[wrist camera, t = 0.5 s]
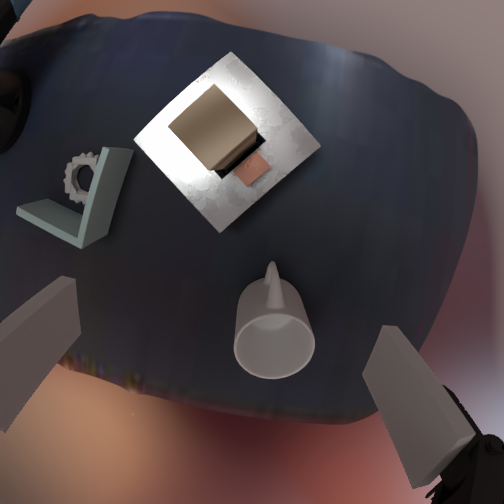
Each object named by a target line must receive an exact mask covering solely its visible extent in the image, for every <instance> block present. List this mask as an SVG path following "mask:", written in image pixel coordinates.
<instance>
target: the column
mask: <svg viewBox="0 0 504 504" xmlns="http://www.w3.org/2000/svg"><path fill="white" fill-rule="evenodd" d="M167 127H168V128H169V129H170V130H171V131H172V132H173V134H174V135H175V136H176V137H177V138H178V139H179V140H180V141H181V142H182V143H183V144H184V145H185V146H186V147H187V148H188V149H189V151H190V152H191V153H192V154H193V155H194V156H195V157H196V158H197V159H198V160H199V161H200V162H201V163H202V165H203V166H204V167H205V168H206V169H207V170H208V171H213V170H221V169H224V170H227V169H228V168H229V167H230V166H231V165H232V164H234V163H235V162H236V161H237V160H238V159H239V158H240V157H242V156H243V155H244V154H245V153H246V152H247V151H248V150H250V149H251V148H252V147H253V146H254V145H255V144H257V142H256V136H257V129H258V128H257V127H256V126H255V125H254V123H253V122H252V121H251V120H250V119H249V118H248V117H247V116H246V115H245V114H244V113H243V112H242V111H241V110H240V109H239V108H238V107H237V106H236V105H235V104H234V103H233V102H232V101H231V100H230V98H229V97H228V96H227V95H226V94H225V93H224V92H223V91H222V90H221V89H220V88H219V87H217V86H216V85H215V84H213V85H212V86H211V87H210V88H208V89H207V90H206V91H205V92H204V93H203V94H201V95H200V96H199V97H198V98H197V99H196V100H195V101H193V102H192V103H191V104H190V105H189V106H188V107H187V108H186V109H185V110H183V111H182V112H181V113H180V114H179V115H178V116H177V117H176V118H175V119H174V120H173V121H172V122H171V123H170V124H169V125H168V126H167Z"/></svg>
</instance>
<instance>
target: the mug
mask: <svg viewBox="0 0 504 504" xmlns="http://www.w3.org/2000/svg"><path fill="white" fill-rule="evenodd" d="M314 349H315V339H314V335H313V332H312V329H311V326H310V323H309V320H308V317H307V314H306V311H305V309H304V306H303V303H302V300H301V297H300V295H299V293H298V291H297V290H296V289H295V288H294V286H292V285H291V284H290V283H289V282H287V281H285V280H283V279H280V278H279V274H278V271H277V267H276V265H275V262H274V261H271V262H270V263H269V265H268V268H267V272H266V275H265V278H261V279H258V280H256V281H254V282H252V283H251V284H249V285H248V286H247V287H246V288H245V289H244V291H243V292H242V294H241V296H240V298H239V302H238V308H237V318H236V328H235V338H234V354H235V357H236V359H237V361H238V363H239V364H240V365H241V366H242V368H244V369H245V370H246V371H247V372H249V373H250V374H252V375H255V376H257V377H261V378H266V379H278V378H284V377H287V376H290V375H293V374H295V373H296V372H298V371H300V370H301V369H302V368H303V367H305V365H306V364H307V363H308V362H309V361H310V359H311V357H312V355H313V353H314Z"/></svg>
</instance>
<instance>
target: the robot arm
mask: <svg viewBox="0 0 504 504" xmlns="http://www.w3.org/2000/svg"><path fill="white" fill-rule="evenodd" d="M31 1H32V0H0V45H1V43H2V42H3V40H4V39H5V37H6V36H7V34H8V33H9V31H10V30H11V29H12V27H13V26H14V24H15V23H16V22H18V21H19V19H20V16H21V15H22V13H23V12H24V11H25V9H26V8H27V7H28V5H29V4H30V3H31ZM30 97H31V91H30V83H29V80H28V78H27V76H26V74H25V73H24V72H22V71H21V70H17V69H14V68H3V69H0V154H2V153H4V152H5V151H7V150H8V149H9V148H10V147H11V146H12V145H13V144H14V142H15V141H16V140H17V138H18V136H19V135H20V133H21V131H22V129H23V126H24V124H25V121H26V118H27V115H28V111H29V106H30ZM80 334H81V328H80V321H79V312H78V303H77V292H76V279H74V278H70V277H65V276H60V277H59V278H58V279H56V280H55V281H53V282H52V283H51V284H49V285H48V286H47V287H45V288H44V289H43V290H41V291H40V292H39V293H37V294H36V295H35V296H33V297H32V298H31V299H30V300H28V301H27V302H26V303H24V304H23V305H22V306H21V307H19V308H18V309H17V310H16V311H14V312H13V313H12V314H11V315H9V316H8V317H7V318H6V319H4V320H3V321H0V430H1V431H3V432H4V433H6V431H7V430H8V428H9V426H10V425H11V424H12V422H13V421H14V419H15V418H16V417H17V415H18V414H19V412H20V411H21V410H22V408H23V407H24V405H25V404H26V403H27V401H28V400H29V398H30V397H31V396H32V394H33V393H34V392H35V390H36V389H37V388H38V387H39V385H40V384H41V382H42V381H43V380H44V379H45V377H46V376H47V375H48V374H49V372H50V371H51V370H52V368H53V367H54V366H55V365H56V363H57V362H58V361H59V360H60V358H61V357H62V356H63V355H64V353H65V352H66V351H67V350H68V349H69V347H70V346H71V345H72V344H73V343H74V341H75V340H76V339H77V338H78V337H79V335H80ZM362 376H363V378H364V380H365V382H366V384H367V386H368V389H369V391H370V393H371V395H372V397H373V399H374V401H375V404H376V406H377V408H378V410H379V412H380V414H381V417H382V419H383V421H384V423H385V425H386V428H387V430H388V432H389V434H390V437H391V439H392V441H393V443H394V446H395V448H396V450H397V452H398V455H399V457H400V460H401V462H402V464H403V467H404V469H405V472H406V474H407V476H408V479H409V481H410V484H411V486H412V488H413V489H415V488H418V487H422V486H425V485H428V484H430V483H431V482H432V481H433V480H434V479H435V478H436V477H437V476H438V475H439V474H440V476H441V479H442V481H441V482H439V483H438V484H437V485H436V486H435V487H434V488H433V489H432V490H431V491H430V492H429V493H428V494H427V495H426V497H425V498H428V497H429V496H430V495H432V494H433V493H434V492H435V494H434V497H432V498H431V500H432V503H431V504H504V442H503V441H502V440H501V439H500V438H499V437H497V436H495V435H492V434H487V435H483V434H482V433H481V431H480V430H479V429H478V427H477V425H476V424H475V422H474V421H473V419H472V418H471V417H470V415H469V414H468V412H467V411H466V410H464V409H465V408H464V407H463V406H462V404H461V403H459V400H458V398H457V397H456V396H455V394H454V393H453V392H452V391H451V390H449V389H448V388H447V387H446V386H444V385H442V384H441V383H440V382H439V380H438V379H437V377H436V376H435V375H434V373H433V372H432V371H431V369H430V368H429V367H428V365H427V364H426V363H425V361H424V360H423V359H422V358H421V356H420V355H419V354H418V352H417V351H416V350H415V348H414V347H413V346H412V345H411V343H410V342H409V341H408V339H407V338H406V337H405V336H404V334H403V333H402V332H401V331H400V329H399V328H398V327H397V326H385V325H383V326H382V329H381V331H380V334H379V336H378V339H377V341H376V344H375V346H374V348H373V351H372V353H371V356H370V358H369V360H368V362H367V365H366V367H365V369H364V371H363V374H362Z"/></svg>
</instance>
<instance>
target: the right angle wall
mask: <svg viewBox="0 0 504 504" xmlns="http://www.w3.org/2000/svg"><path fill="white" fill-rule="evenodd" d="M133 153H134V150H131V149H127V148H114V147H103V148H102V151H101V154H100V155H95V156H94V155H93V153H92V152H89V153H88V154H84V153H82V154H81V155H80V156H76V157H73V159H72V163H68V164H67V169H66V170H65V171H64V172H65V174H66V178H65V179H64V180H63V181H64V183H65V193H70V200H74V201H75V202H76V203H78V202H79V203H80V202H81V201H82V203H83V204H85V208H84V212H83V215H81V214H79V213H77V212H75V211H73V210H71V209H68V208H66V207H64V206H62V205H60V204H58V203H56V202H54V201H52V200H50V199H48V198H47V199H43V200H40V201H36V202H32V203H28V204H25V205H21V206H18V207H17V211H16V214H17V215H19V216H20V217H22V218H24V219H26V220H27V221H29V222H31V223H33V224H35V225H37V226H38V227H40V228H42V229H44V230H46V231H48V232H50V233H51V234H53V235H55V236H57V237H59V238H61V239H63V240H65V241H67V242H69V243H71V244H73V245H75V246H77V247H78V248H80V249H83V248H84V247H86V246H88V245H89V244H91V243H93V242H95V241H96V240H98V239H100V238H102V237H104V236H105V235H107V234H108V230H109V227H110V223H111V220H112V216H113V213H114V209H115V206H116V203H117V199H118V196H119V193H120V190H121V187H122V184H123V181H124V178H125V175H126V172H127V169H128V166H129V164H130V161H131V158H132V155H133ZM84 165H89V166H90V167H91V169H92V170H93V172H94V176H93V179H92V183H91V186H90V190H89V192H86V191H84V190H82V189H81V188H80V186H79V183H78V180H77V175H78V172H79V169H80V168H81V167H83V166H84Z"/></svg>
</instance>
